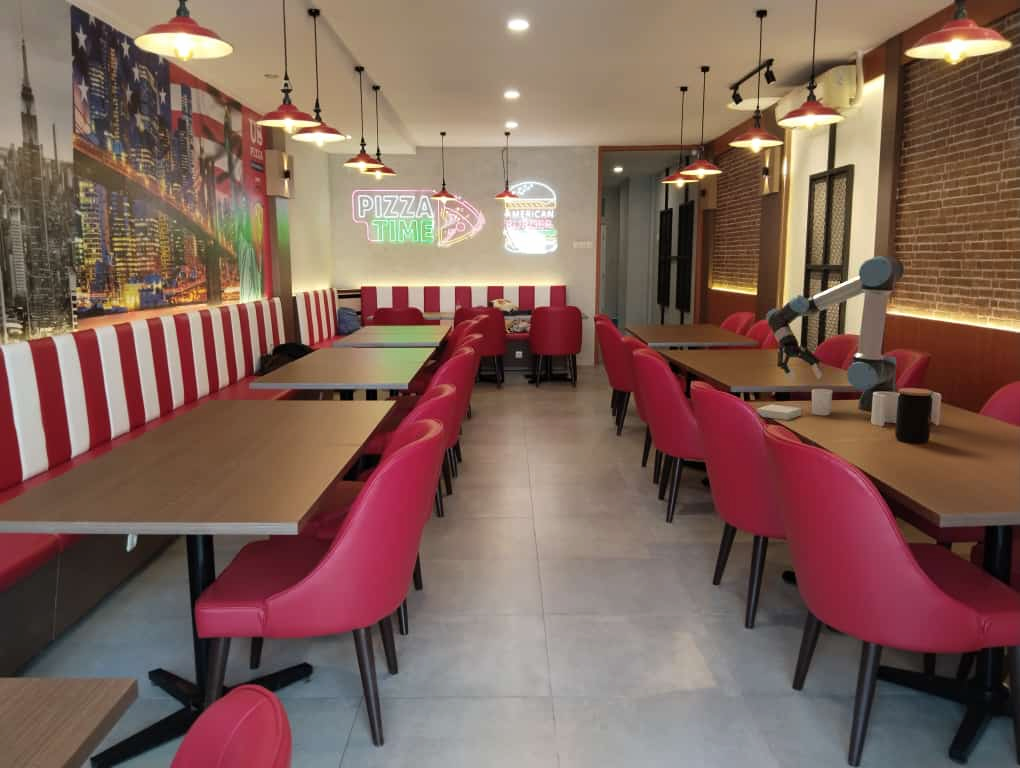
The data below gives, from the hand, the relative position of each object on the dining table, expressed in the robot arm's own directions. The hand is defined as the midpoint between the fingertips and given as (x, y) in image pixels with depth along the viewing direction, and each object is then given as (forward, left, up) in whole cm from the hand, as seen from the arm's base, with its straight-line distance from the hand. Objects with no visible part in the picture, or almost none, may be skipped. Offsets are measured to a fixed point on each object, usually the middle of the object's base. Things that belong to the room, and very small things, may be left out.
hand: (806, 378), depth 317 cm
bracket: (-40, +2, -14) cm, 42 cm away
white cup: (-9, +5, -14) cm, 17 cm away
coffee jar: (-51, +30, -14) cm, 60 cm away
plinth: (+3, +20, -14) cm, 24 cm away
